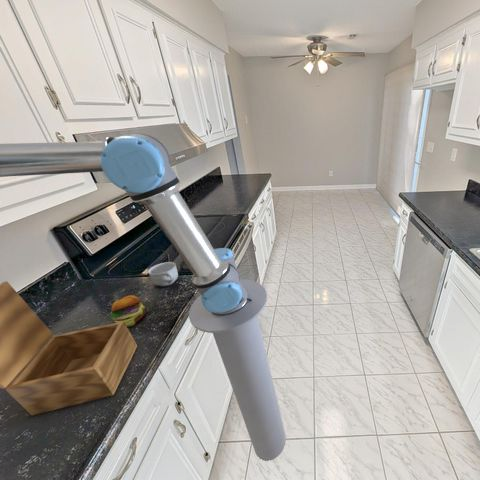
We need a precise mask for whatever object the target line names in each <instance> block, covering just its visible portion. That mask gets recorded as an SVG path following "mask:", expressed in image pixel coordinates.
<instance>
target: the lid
mask: <svg viewBox="0 0 480 480" xmlns="http://www.w3.org/2000/svg"><path fill="white" fill-rule="evenodd" d="M52 336H54V333H53V332H52V331H51V329H50V328H49V327H48V326H47V325H46V324H45V323H44V322H43V320H42V319H41V318H40V317H39V315H37V314H36V312H35V311H34V310H33V309H32V308H31V307H30V306H29V304H28V303H27V302H26V301H25V300H24V299H23V297H21V295H20V294H19V293H18V292H17V291H16V289H15V288H14V287H13V286H12V285H11V284H10V283H9V282H8V281H7V280H6V281H2V282H1V283H0V389H6V388H7V387H8V386H9V385H10V384H11V382H12V381H13V380H14V379H15V378H16V377H17V376H18V375H19V373H20V372H21V371H22V370H23V369H24V368H25V367H26V366H27V364H28V363H29V362H30V361H31V360H32V359H33V358H34V357H35V355H36V354H37V353H38V352H39V351H40V350H41V349H42V348H43V346H44V345H45V344H46V343H47V342H48V341H49V340H50V339H51V337H52Z"/></svg>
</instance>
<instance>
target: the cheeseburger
mask: <svg viewBox="0 0 480 480" xmlns="http://www.w3.org/2000/svg"><path fill="white" fill-rule="evenodd" d="M141 301H142V298H141V299H140V298H139V297H138V296H137V295H131V294H130V295H127V296H123V297H122V298H120V299H118V300H116V301H114V302H113V303H112V306H111V313H110V314H109V318H111V319H112V320H113V321H114V323H118V322H123V321H124V323H125V325H126V326H127V328H131V327H134V326H135V325H136V323H137V322H138V321H140V320H142V319H143V317H144V316H145V315H146V310H145V308H146V307H145V305H143V303H142V302H141Z"/></svg>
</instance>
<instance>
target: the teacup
mask: <svg viewBox="0 0 480 480" xmlns="http://www.w3.org/2000/svg"><path fill="white" fill-rule="evenodd" d="M147 274H148V275H149V278H150V280H151V282H152V284H153V285H155V286H158V287H166V286H167V287H168V286H170V285H172V284H174V282H175V281H176V280H177V279H178V278H179V273H178V269H177V264H176V263H175V262H173V261H166V262H165V261H164V262H161V263H158V264H155V265H153V266H151V267H150V268H149V269H148V270H147Z"/></svg>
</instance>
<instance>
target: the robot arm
mask: <svg viewBox="0 0 480 480" xmlns="http://www.w3.org/2000/svg"><path fill="white" fill-rule="evenodd" d="M170 156H171V155H170V153H169V151H168V149H167V147H166V146H165V145H164V143H162V141H160V140H159V139H158V138H156V137H154V136H152V135H150V134H146V133H132V134H125V135H120V136H107V137H106V138H105V139H104V140H103V141H67V142H65V141H63V142H59V141H58V142H22V143H21V142H20V143H18V142H17V143H13V142H12V143H0V178H7V177H25V176H43V175H44V176H45V175H46V176H47V175H64V174H65V175H66V174H83V173H102V172H103V173H104V176H105V178H107V180H109V181H110V182H111V183H112V184H113V185H114V186H116V187H117V188H118V189H120V190H123V191H125V192H126V194H127V195H128V196H129V198H130V199H131V200H132V202H133V203H137V204H139V205H143V206H144V207H145V209H147V211H148V213H149V214H150V215H151V217H152V218H153V220H154V221H155V222H156V224H157V225H158V226H159V228H160V229H161V231H162V233H163V234H164V235H165V236H166V238H167V240H168V241H169V242H170V243H171V245H172V246H173V248H174V249H175V251H176V252H177V254H178V255H179V256H180V257H181V259H182V260H183V262H184V263H185V264H186V266H187V267H188V269H189V270H190V271H191V273H192V276H191V283H192V284H193V286H194V287H195V288H196V290H197V291H198V292H199V294H200V295H201V296H202V298H201V300H202V304H203V306H204V308H205V309H206V310H208V311H210V312H211V313H213V314H215V315H219V316H224V315H230V314H233V313H235V312H237V311H239V310H241V309H242V308H243V307H244V306H245V305H246V304H247V302H248V300H249V301H251V299H249V296H248V293H247V291H246V289H245V288H244V286H243V285H242V284H241V282H240V280H241V279H240V277H239V273H238V269H237V264H236V261H235V255H234V253H233V250H232V249H230V248H227V247H219V248H218V247H217V248H214V247H213V246H212V245H213V244H211V242H210V240H209V239H208V237H207V235H206V233H205V232H204V230H203V229H202V227H201V226H200V223H198V220H197V219H196V217H195V216H194V214H193V212H192V211H191V209H190V208H189V205H188V204H187V203H186V201H185V200H184V198H183V196H182V195H181V193H180V191H179V186H180V184H181V181H180V179H179V178H178V176H177V174H176V173H175V171H174V169H173V168H172V166H171V157H170Z"/></svg>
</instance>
